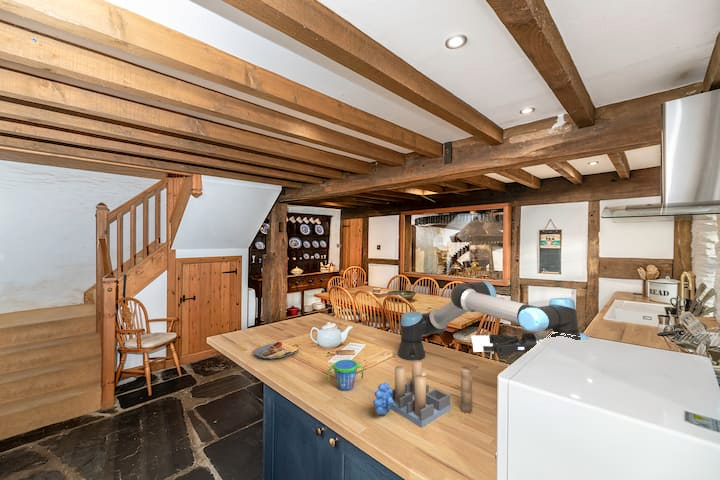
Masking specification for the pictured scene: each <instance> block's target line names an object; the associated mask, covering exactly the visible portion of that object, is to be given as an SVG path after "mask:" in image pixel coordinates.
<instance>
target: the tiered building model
mask: <svg viewBox="0 0 720 480" xmlns="http://www.w3.org/2000/svg"><path fill="white" fill-rule="evenodd" d="M427 374H428V373H426V372H425V371H422V376H424V377H426V378H427ZM426 383H428V382H427V380H426Z"/></svg>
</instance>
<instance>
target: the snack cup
mask: <svg viewBox="0 0 720 480" xmlns="http://www.w3.org/2000/svg"><path fill="white" fill-rule="evenodd" d="M358 368H359V369H361V380H363V378H364V369H363V366H362V365H361V364H359V363H358V362H357V361H356V360H352V359H341V360H337V361H335V362H334V363H333V365H331V366H330V367H329V369H328V371H327V378H328V381H329V382H330V381H331V378H330V371H332V370H334V375H335V381H336V386H337V388H338V389H339V390H341V391H351V390H352V389H354V388H355V384H356V378H357V377H356V376H357V371H358Z"/></svg>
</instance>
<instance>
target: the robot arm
mask: <svg viewBox="0 0 720 480" xmlns="http://www.w3.org/2000/svg"><path fill="white" fill-rule="evenodd" d="M548 302H549V304H548V305H544V306H536V305H535V306H534V305H532V304H531V305H530V304H527V303H522V302H519V301H514V300H510V299H505V298H502V297H497V291H496V289H495V287H494V285H492V283H490V282H489V281H484V280H483V281H475V282H474V281H473V282H472V281H471V282H462V283H459V284H457V285H455V286H453V288H452V290H451V292H450V301H449V302H447V303H446V304H445V305H443V306H441V307H440V308H434V309H432V310H430V311H429V312H426V313H422V312H420V311H408V312H407V311H406V312H404V313H402V315H401V317H400V318H401V319H400V343H399V346H398V349H397V355H398V357H399V358H401V359H403V360H406V361H407V360H408V361H413V360H420V361H422V360H423V359H424V358H426V350H425V348H424V344H423V336H425V335H426V336H427V335H434V334H440V333H443V332H445V331H446V330H447V328H448V327H447V326H448V325H449V324H448V323H450V322H453V321H454V320H456V319H458V318H459V317H461V316H462V315H464V314H467V313H469V312H470V313H474V312H477V313H480V314H484V315H487V316H491V317H494V318H497V319H500V320H503V321H506V322H510V323H514V324H516V325H519V326H521V328H523V329H524V331H526V332H523V333H522V334H521V338H518V336H516V335H503V334H502V335H500V334H493V333H492V334H490V335H474V334H473V335H470V336H471V343H472V350H473V352H475V353H476V352H478V353H479V352H481V353H496V354H497V355H502V354H512V353H524V354H525V353H526V352H527V351H529V350H530V349H531V348H533V347H534V346H535V345H536V344H538V343H539V342H540V341H542V340H543V339H544V338H546V337H547V336H548V335H549V334H550V333H551V334H552V333H553V332H558V333H555V334H552V335H551V334H550V335H551V337H556V336H564V335H565V334H566V336H564V337H568V338H569V337H570V338H572V339H575V340H587V339H588V340H589V338H588V336H587V334H585V333H582V332H580V330H579V322H578V314H577V311H578V310H577V308H576V303H575V300H574V299H573V298H570V297H555V298H554V297H553V298H550V299H549V301H548ZM547 330H552V331H553V332H543V331H547ZM561 333H565V334H564V335H560V334H561ZM567 334H571V335H576V336H573V337H571V335H567ZM550 335H549V336H550ZM549 336H548V337H549ZM578 336H581V337H578ZM548 337H547V338H548ZM549 338H550V337H549Z"/></svg>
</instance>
